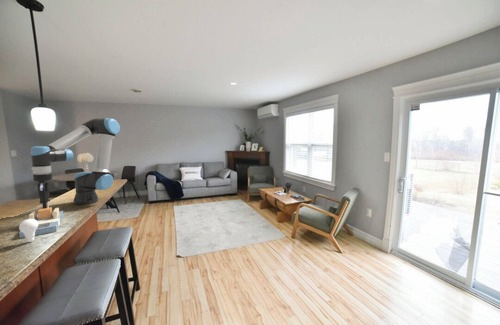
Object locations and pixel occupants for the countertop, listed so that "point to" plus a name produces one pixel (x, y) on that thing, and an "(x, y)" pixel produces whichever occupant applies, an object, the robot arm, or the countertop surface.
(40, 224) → the pad
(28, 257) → the countertop surface
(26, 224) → the lightbulb
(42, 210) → the block
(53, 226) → the tunnel deck
